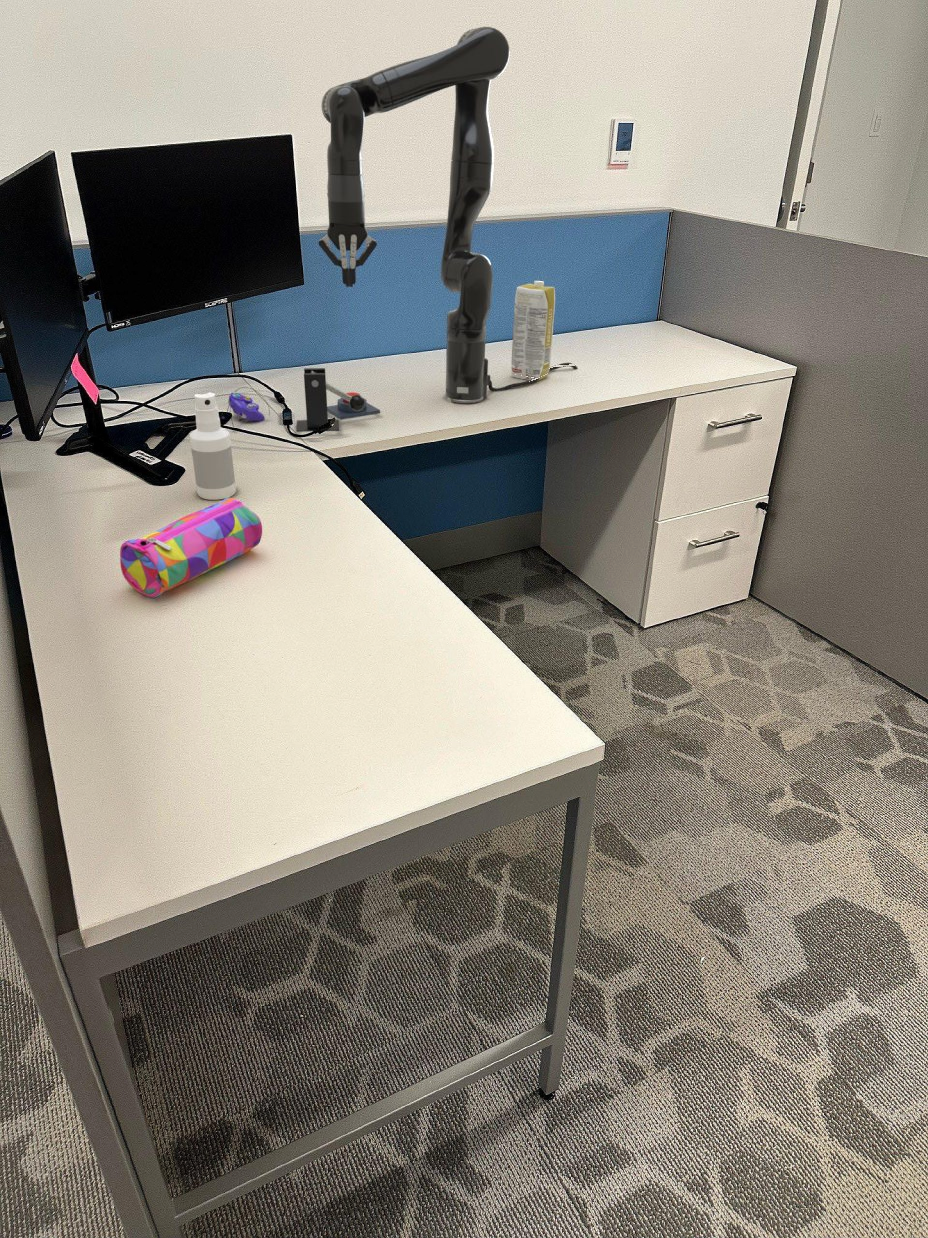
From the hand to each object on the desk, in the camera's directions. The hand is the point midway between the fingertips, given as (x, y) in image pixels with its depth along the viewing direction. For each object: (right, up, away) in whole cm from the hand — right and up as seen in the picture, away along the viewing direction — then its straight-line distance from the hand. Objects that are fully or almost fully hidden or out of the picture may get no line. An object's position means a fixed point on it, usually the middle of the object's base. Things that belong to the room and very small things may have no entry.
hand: (349, 286), depth 189 cm
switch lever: (-3, -26, -4) cm, 26 cm away
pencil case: (-15, -66, -58) cm, 89 cm away
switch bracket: (-7, -32, -1) cm, 32 cm away
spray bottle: (-20, -50, -32) cm, 63 cm away
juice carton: (+42, -9, +41) cm, 60 cm away
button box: (0, -26, +9) cm, 28 cm away
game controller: (-24, -30, +2) cm, 38 cm away
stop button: (0, -24, +7) cm, 25 cm away
